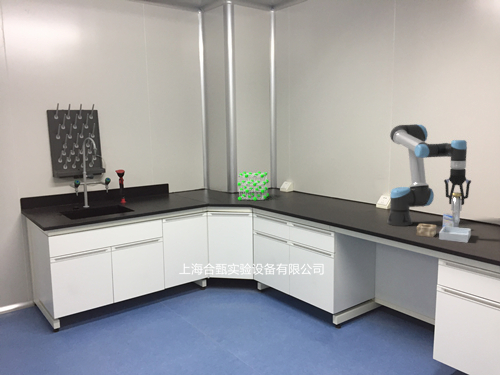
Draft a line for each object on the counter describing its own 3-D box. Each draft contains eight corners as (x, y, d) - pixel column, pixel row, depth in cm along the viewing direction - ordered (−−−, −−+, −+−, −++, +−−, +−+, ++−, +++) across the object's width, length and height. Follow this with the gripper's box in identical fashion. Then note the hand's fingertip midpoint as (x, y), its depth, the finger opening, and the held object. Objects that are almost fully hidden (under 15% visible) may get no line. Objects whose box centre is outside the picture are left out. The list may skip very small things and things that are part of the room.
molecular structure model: (264, 201, 358) (263, 174, 354) (237, 200, 364) (236, 174, 360) (269, 196, 381) (268, 171, 378) (244, 196, 387) (243, 171, 384)
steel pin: (450, 222, 224) (451, 193, 222) (451, 220, 228) (452, 192, 226) (460, 223, 221) (461, 194, 219) (461, 221, 225) (462, 192, 223)
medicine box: (442, 227, 248) (442, 214, 247) (447, 226, 250) (448, 213, 249) (453, 230, 241) (453, 216, 240) (458, 229, 243) (459, 215, 242)
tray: (438, 239, 224) (439, 232, 223) (443, 232, 237) (443, 226, 236) (467, 242, 216) (467, 235, 215) (470, 235, 229) (470, 228, 228)
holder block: (416, 235, 233) (416, 226, 233) (419, 231, 241) (420, 223, 240) (433, 237, 228) (433, 228, 228) (436, 233, 236) (436, 225, 235)
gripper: (440, 168, 222) (438, 210, 225) (474, 169, 213) (472, 212, 216) (442, 167, 228) (441, 207, 232) (475, 168, 219) (473, 210, 222)
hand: (456, 210), depth 224 cm, fingers closed on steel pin, 3 cm apart
